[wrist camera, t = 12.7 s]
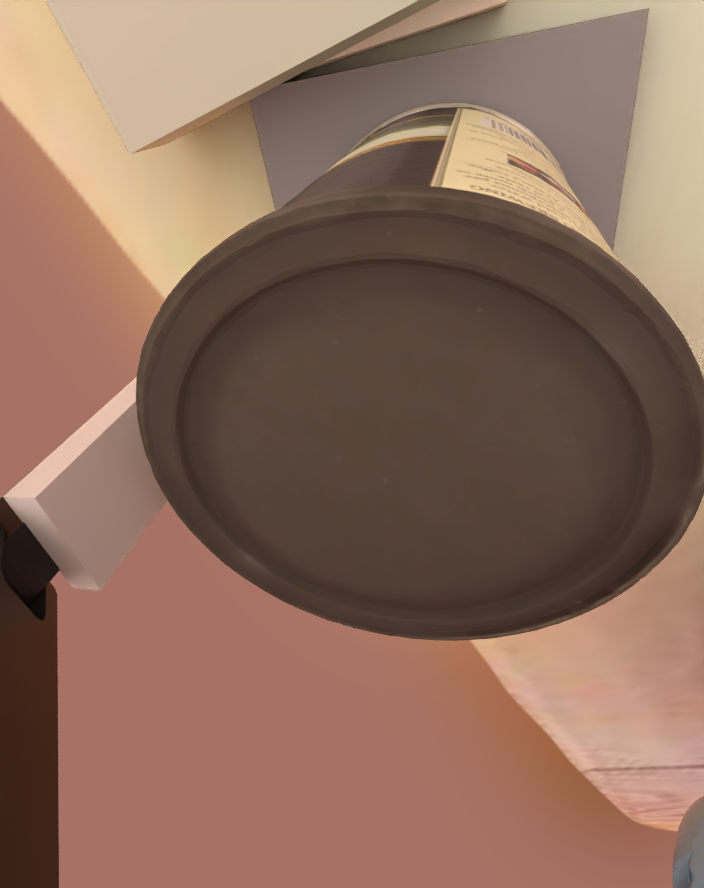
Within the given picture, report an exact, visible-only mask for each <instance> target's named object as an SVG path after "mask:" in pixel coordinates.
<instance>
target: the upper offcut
mask: <svg viewBox="0 0 704 888" xmlns="http://www.w3.org/2000/svg"><path fill="white" fill-rule="evenodd" d="M45 1H46V3H47V5H48V7H49V9H50V10H51V12H52V14H53V16H54V18H55V20H56V21H57V23H58V25H59V27H60V29H61V30H62V32H63V34H64V36H65V38H66V40H67V41H68V43H69V45H70V47H71V49H72V50H73V52H74V54H75V56H76V58H77V60H78V61H79V63H80V65H81V67H82V69H83V70H84V72H85V74H86V76H87V78H88V80H89V81H90V83H91V85H92V87H93V89H94V90H95V92H96V94H97V96H98V98H99V100H100V101H101V103H102V105H103V107H104V109H105V110H106V112H107V114H108V116H109V118H110V119H111V121H112V123H113V125H114V127H115V129H116V130H117V132H118V134H119V136H120V138H121V139H122V141H123V143H124V145H125V147H126V149H127V150H128V152H129V154H132V153H136V152H139V151H143V150H147V149H150V148H154V147H157V146H161V145H165V144H167V143H169V142H171V141H173V140H175V139H176V138H178V137H180V136H182V135H184V134H186V133H188V132H190V131H192V130H194V129H196V128H197V127H199V126H201V125H203V124H205V123H207V122H209V121H211V120H213V119H215V118H217V117H218V116H220V115H222V114H224V113H226V112H228V111H230V110H232V109H234V108H236V107H238V106H239V105H241V104H243V103H245V102H247V101H249V100H251V99H253V98H255V97H257V96H259V95H260V94H262V93H264V92H266V91H268V90H270V89H272V88H274V87H276V86H278V85H280V84H281V83H283V82H285V81H287V80H289V79H291V78H293V77H295V76H297V75H299V74H301V73H303V72H304V71H306V70H308V69H310V68H312V67H314V66H316V65H318V64H320V63H322V62H324V61H325V60H327V59H329V58H331V57H333V56H335V55H337V54H339V53H341V52H343V51H345V50H346V49H348V48H350V47H352V46H354V45H356V44H358V43H360V42H362V41H364V40H366V39H367V38H369V37H371V36H373V35H375V34H377V33H379V32H381V31H383V30H385V29H387V28H388V27H390V26H392V25H394V24H396V23H398V22H400V21H402V20H404V19H406V18H408V17H409V16H411V15H413V14H415V13H417V12H419V11H421V10H423V9H425V8H427V7H429V6H431V5H432V4H434V3H436V2H438V1H440V0H45Z"/></svg>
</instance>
